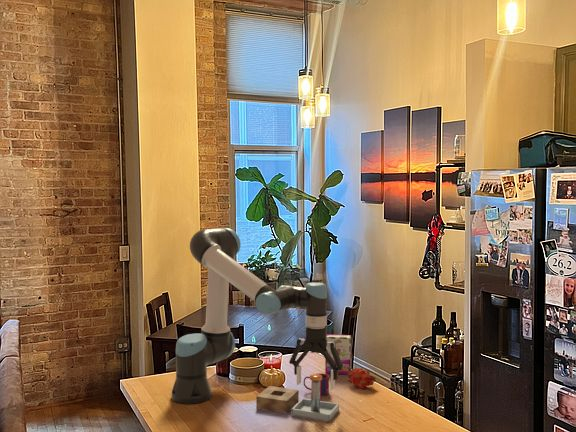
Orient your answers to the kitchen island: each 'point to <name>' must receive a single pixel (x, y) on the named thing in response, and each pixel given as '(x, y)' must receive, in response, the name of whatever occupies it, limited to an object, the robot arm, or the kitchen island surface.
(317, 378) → the pin
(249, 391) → the kitchen island surface
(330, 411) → the tray
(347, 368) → the candy bar box
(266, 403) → the socket block
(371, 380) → the dragon fruit
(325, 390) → the mug
